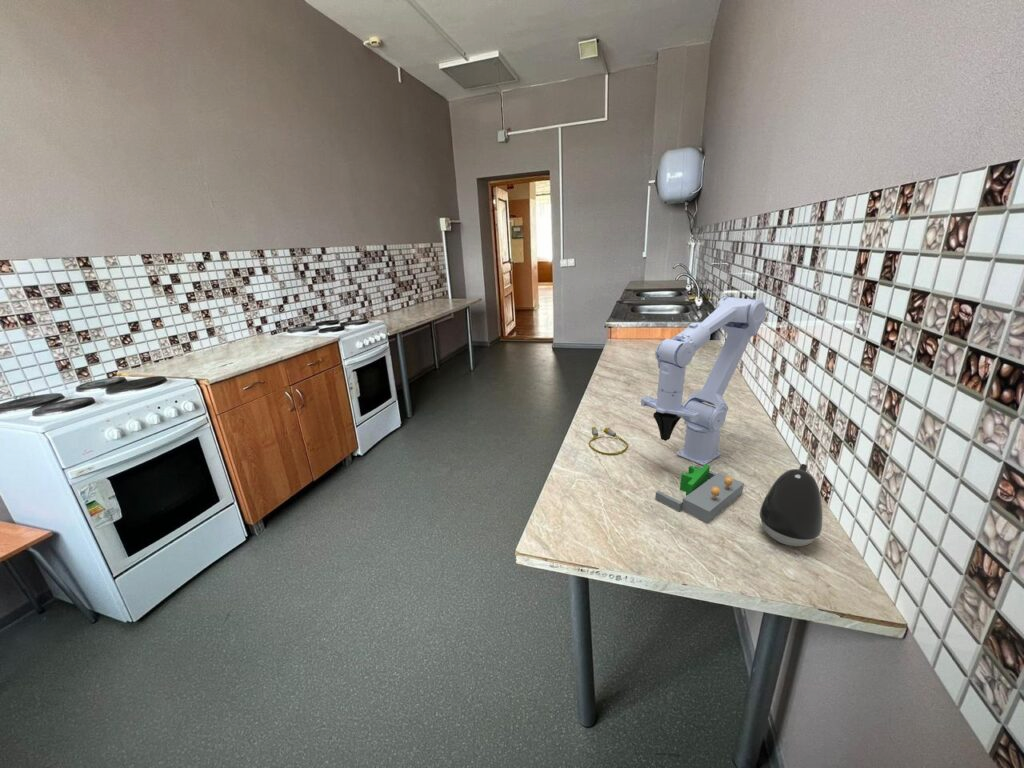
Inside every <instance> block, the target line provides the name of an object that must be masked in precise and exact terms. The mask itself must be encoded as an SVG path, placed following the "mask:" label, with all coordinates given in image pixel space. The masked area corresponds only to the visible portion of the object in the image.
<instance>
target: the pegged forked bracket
mask: <svg viewBox="0 0 1024 768" xmlns="http://www.w3.org/2000/svg"><path fill="white" fill-rule="evenodd" d="M694 467H696V468H699V469H701V468H702V467H703V466H700V465H698V464H697V465H694ZM744 485H745V483H744V482H743V481H739V480H737V479H735V478H733V477H731V476H729V475H728V476H727V475H725V474H722V473H721V472H717V473H716V472H715V471H712V470H709V477H708V481H706V482H705V483H704V484H702V485H701V486H700V487H698V488H697V489H695V490H694V491H693V492H691V493H690V494H688V495H687V496H686V495H685V496H684V497H683V498H682V501H680V500H678V499H677V498H675V497H673V496H670V495H669V494H666V493H664V492H662V491H660V490H656V492H655V499H654V500H656V501H658V502H659V503H661V504H663V505H665V506H667V507H669V508H670V509H673V510H675V511H677V513H678V512H681V511H683V512H685V513H686V514H689V515H690V516H692V517H694V518H696V519H698V520H700V521H702V522H704V523H706V524H710V522H711V521H712V520H713V519H714V518H716V517H717V516H718V515H719V514H720V513H722V512H723V511H724V510H725V509H726V508H728V507H729V506H730V505H731V504H733V502H735V501H736V500H737V499H738V498H740V496H742V495H743V493H744V487H745V486H744Z"/></svg>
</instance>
